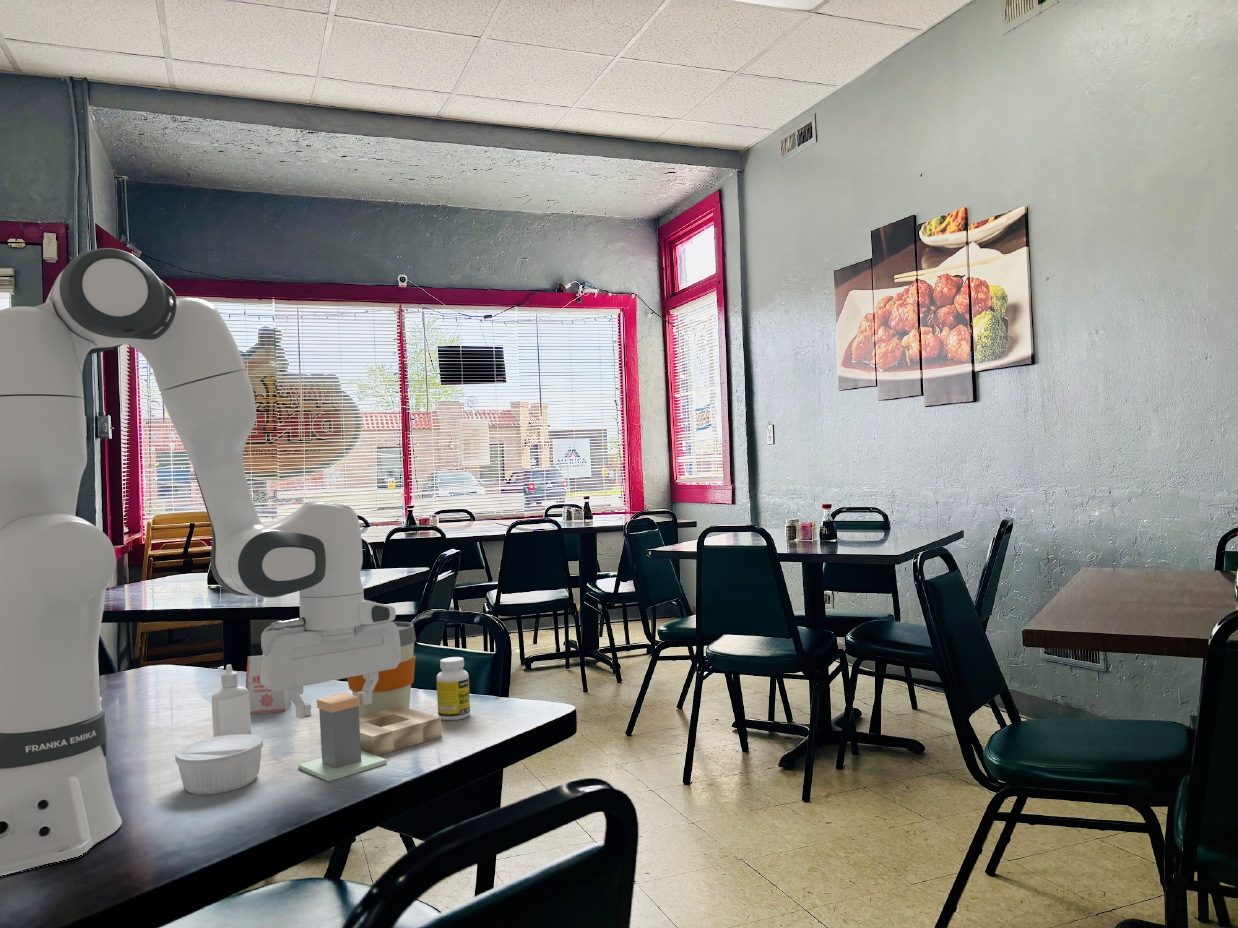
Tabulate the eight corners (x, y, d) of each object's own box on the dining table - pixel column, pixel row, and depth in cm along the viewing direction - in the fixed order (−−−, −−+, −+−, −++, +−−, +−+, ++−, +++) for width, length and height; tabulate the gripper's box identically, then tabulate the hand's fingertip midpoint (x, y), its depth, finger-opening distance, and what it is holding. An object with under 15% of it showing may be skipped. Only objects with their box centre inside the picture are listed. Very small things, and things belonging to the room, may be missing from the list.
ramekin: (181, 805, 117) (179, 764, 117) (172, 782, 126) (170, 744, 126) (272, 785, 123) (270, 746, 123) (257, 764, 132) (255, 728, 132)
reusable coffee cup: (430, 703, 162) (426, 620, 162) (402, 723, 150) (397, 633, 150) (366, 703, 165) (361, 622, 165) (332, 723, 152) (327, 635, 152)
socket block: (373, 756, 133) (372, 736, 133) (334, 742, 141) (333, 723, 141) (441, 736, 141) (440, 717, 141) (400, 723, 150) (399, 705, 150)
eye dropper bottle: (250, 739, 145) (246, 665, 145) (212, 744, 144) (208, 669, 144) (252, 732, 150) (248, 660, 150) (215, 737, 148) (211, 664, 148)
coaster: (328, 781, 123) (328, 777, 123) (298, 768, 129) (298, 764, 129) (386, 763, 129) (386, 759, 129) (355, 751, 135) (355, 747, 135)
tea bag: (254, 708, 166) (251, 654, 166) (291, 705, 166) (288, 652, 166) (247, 713, 162) (244, 658, 162) (285, 711, 163) (282, 656, 163)
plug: (335, 769, 126) (331, 703, 126) (320, 763, 129) (316, 699, 129) (363, 760, 129) (359, 697, 129) (348, 755, 132) (344, 692, 132)
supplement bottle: (463, 721, 149) (460, 662, 149) (433, 721, 150) (430, 662, 150) (475, 712, 155) (472, 655, 155) (445, 712, 156) (442, 655, 156)
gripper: (271, 625, 119) (273, 729, 119) (405, 607, 134) (407, 700, 133) (251, 621, 124) (253, 722, 123) (383, 604, 138) (385, 694, 138)
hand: (334, 710), depth 129 cm, fingers open, 8 cm apart
